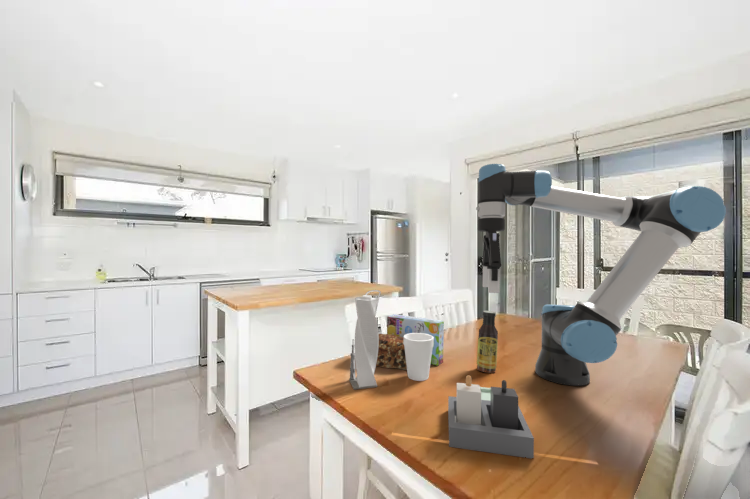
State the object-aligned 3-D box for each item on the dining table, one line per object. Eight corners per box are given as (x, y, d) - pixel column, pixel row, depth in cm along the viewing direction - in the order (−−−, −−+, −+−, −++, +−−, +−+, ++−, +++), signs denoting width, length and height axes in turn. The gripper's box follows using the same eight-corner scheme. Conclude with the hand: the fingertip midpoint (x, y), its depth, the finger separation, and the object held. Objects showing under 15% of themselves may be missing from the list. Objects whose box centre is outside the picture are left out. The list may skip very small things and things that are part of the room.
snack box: (444, 361, 114) (444, 320, 114) (438, 366, 109) (438, 323, 109) (392, 351, 125) (393, 313, 125) (385, 355, 120) (386, 315, 120)
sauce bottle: (477, 372, 103) (477, 312, 103) (476, 366, 110) (477, 309, 110) (498, 375, 102) (499, 313, 102) (496, 368, 108) (497, 310, 108)
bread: (355, 364, 110) (355, 336, 110) (366, 355, 120) (366, 328, 120) (407, 371, 104) (408, 341, 104) (414, 361, 114) (414, 333, 114)
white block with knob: (478, 424, 72) (479, 373, 72) (480, 434, 68) (481, 380, 68) (456, 421, 73) (456, 371, 73) (456, 431, 69) (457, 377, 69)
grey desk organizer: (517, 420, 75) (518, 370, 75) (533, 458, 61) (534, 397, 61) (448, 412, 78) (448, 364, 78) (449, 446, 65) (449, 388, 64)
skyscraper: (375, 377, 99) (376, 288, 99) (383, 388, 91) (384, 291, 91) (349, 379, 97) (350, 289, 97) (354, 391, 89) (355, 292, 89)
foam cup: (432, 386, 93) (433, 342, 93) (401, 383, 95) (402, 340, 95) (433, 373, 102) (433, 333, 102) (405, 371, 104) (405, 332, 104)
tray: (494, 393, 89) (494, 388, 89) (503, 416, 76) (503, 411, 76) (458, 389, 91) (458, 384, 91) (460, 411, 79) (460, 406, 78)
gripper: (474, 221, 106) (473, 284, 106) (482, 213, 82) (481, 295, 82) (497, 221, 104) (496, 285, 104) (513, 213, 80) (512, 296, 80)
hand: (490, 289), depth 93 cm, fingers open, 13 cm apart
